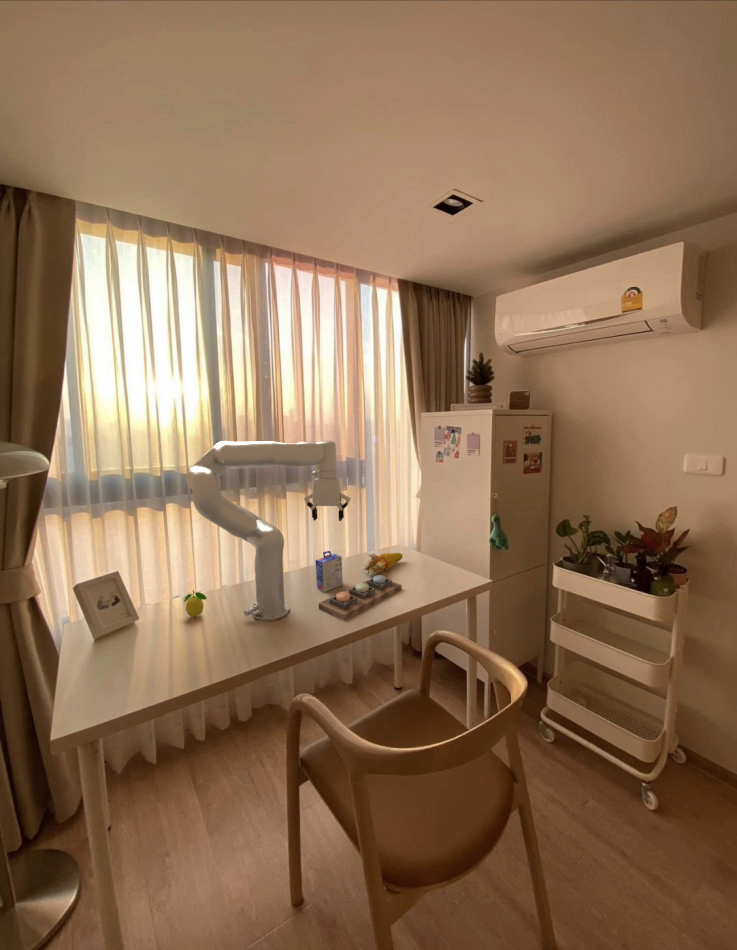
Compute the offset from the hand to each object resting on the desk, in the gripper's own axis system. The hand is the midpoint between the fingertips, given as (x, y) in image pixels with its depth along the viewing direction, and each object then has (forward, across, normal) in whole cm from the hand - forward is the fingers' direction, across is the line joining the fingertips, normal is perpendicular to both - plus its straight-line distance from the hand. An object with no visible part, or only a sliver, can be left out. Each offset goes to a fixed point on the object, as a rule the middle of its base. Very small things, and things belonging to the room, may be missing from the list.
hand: (328, 519), depth 152 cm
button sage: (+27, +13, -2) cm, 30 cm away
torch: (+31, +19, +27) cm, 45 cm away
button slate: (+27, +18, +7) cm, 33 cm away
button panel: (+30, +12, -2) cm, 33 cm away
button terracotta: (+27, +7, -10) cm, 29 cm away
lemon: (+30, -43, -22) cm, 56 cm away
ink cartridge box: (+30, -2, +7) cm, 31 cm away
